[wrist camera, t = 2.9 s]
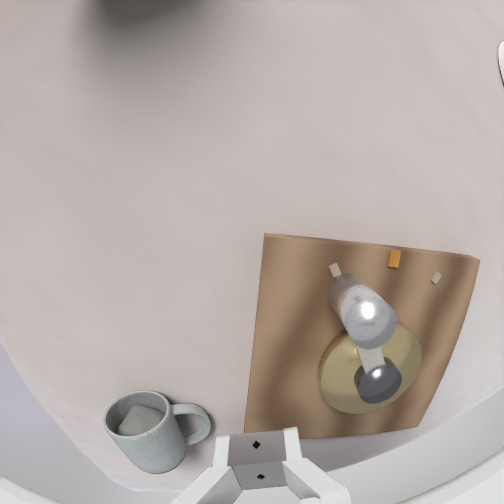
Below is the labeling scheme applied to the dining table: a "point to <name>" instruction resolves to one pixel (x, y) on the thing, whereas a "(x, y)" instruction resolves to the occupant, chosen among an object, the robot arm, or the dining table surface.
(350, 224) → the dining table surface
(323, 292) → the brown flat wooden board
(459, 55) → the dining table surface
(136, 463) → the ceramic mug
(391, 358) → the brass and silver crank
